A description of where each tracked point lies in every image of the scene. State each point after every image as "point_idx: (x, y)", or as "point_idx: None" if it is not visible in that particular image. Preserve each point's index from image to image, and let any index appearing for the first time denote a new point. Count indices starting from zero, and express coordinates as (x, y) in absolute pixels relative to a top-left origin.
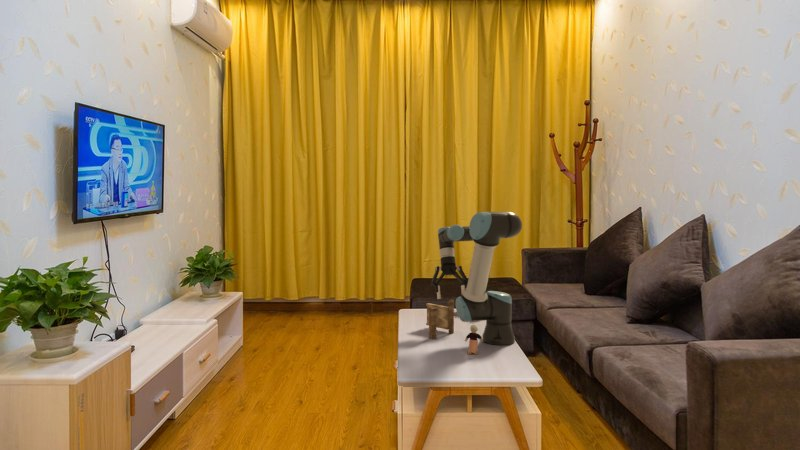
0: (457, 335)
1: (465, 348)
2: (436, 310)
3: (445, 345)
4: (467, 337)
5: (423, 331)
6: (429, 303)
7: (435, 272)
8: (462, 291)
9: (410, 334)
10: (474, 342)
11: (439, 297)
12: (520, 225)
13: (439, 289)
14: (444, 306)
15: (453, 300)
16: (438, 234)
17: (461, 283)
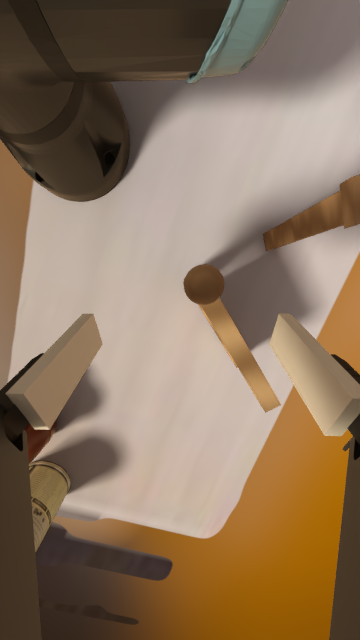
0: (184, 248)
1: (222, 81)
2: (341, 190)
3: (270, 144)
4: None
5: (265, 323)
6: (263, 405)
7: None
8: (75, 364)
9: (316, 303)
10: None
11: (291, 317)
12: None
13: (325, 360)
14: (221, 324)
15: (193, 275)
16: None
17: (23, 449)
